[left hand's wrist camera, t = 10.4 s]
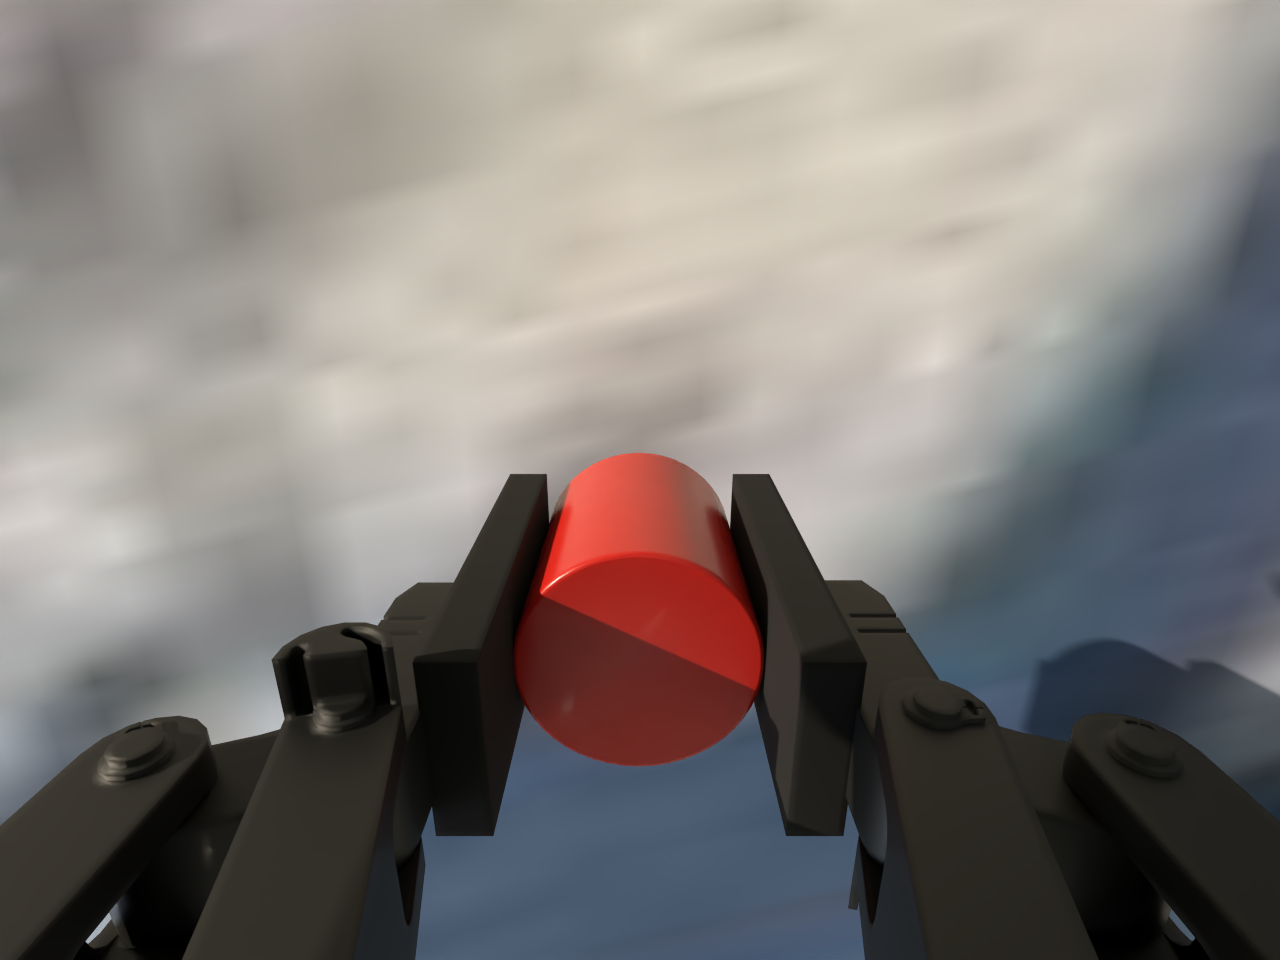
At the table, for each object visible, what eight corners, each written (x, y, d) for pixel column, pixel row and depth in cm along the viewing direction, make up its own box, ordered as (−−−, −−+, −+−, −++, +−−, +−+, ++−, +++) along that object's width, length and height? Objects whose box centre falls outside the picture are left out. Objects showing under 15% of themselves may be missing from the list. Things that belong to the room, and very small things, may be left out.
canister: (565, 622, 16) (536, 779, 11) (535, 463, 14) (488, 569, 10) (734, 603, 15) (773, 755, 11) (719, 440, 14) (756, 538, 10)
